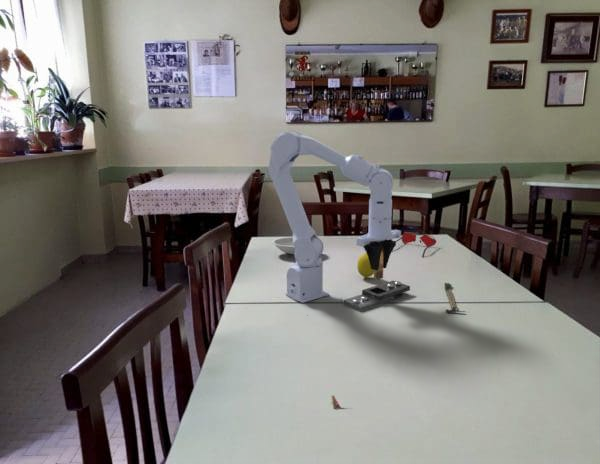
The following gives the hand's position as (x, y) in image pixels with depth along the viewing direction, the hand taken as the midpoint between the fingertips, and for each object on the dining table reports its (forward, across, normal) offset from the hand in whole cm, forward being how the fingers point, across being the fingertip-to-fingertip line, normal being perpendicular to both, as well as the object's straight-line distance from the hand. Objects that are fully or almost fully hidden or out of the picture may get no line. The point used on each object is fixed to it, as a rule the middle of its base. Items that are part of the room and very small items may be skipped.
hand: (378, 268), depth 118 cm
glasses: (+9, +47, +27) cm, 55 cm away
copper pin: (+2, 0, 0) cm, 2 cm away
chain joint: (+9, 0, 0) cm, 9 cm away
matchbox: (+9, -38, -28) cm, 48 cm away
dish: (+9, +9, +48) cm, 50 cm away
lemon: (+9, +10, +14) cm, 19 cm away
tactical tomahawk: (+9, +16, -13) cm, 23 cm away
